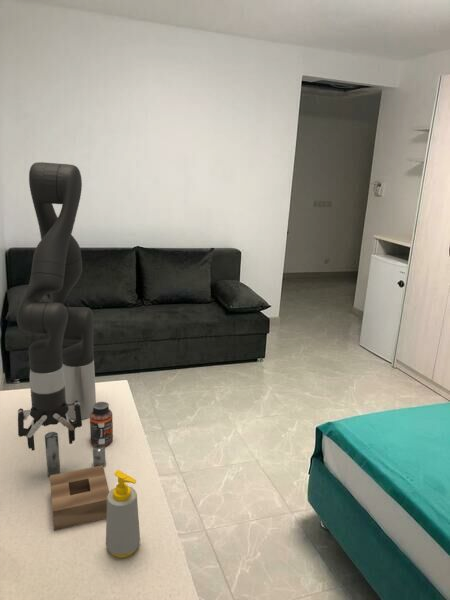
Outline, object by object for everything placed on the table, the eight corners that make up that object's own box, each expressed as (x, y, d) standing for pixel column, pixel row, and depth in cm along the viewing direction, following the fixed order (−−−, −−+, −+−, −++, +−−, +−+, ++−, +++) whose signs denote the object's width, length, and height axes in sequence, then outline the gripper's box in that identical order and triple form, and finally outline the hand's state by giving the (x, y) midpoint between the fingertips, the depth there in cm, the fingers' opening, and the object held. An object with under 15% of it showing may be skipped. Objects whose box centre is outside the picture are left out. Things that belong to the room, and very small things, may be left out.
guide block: (51, 493, 114) (49, 475, 112) (103, 482, 118) (102, 465, 116) (54, 530, 103) (52, 511, 102) (111, 517, 108) (110, 498, 106)
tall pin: (47, 471, 121) (44, 433, 118) (60, 468, 122) (57, 430, 119) (47, 478, 118) (44, 440, 115) (60, 476, 119) (58, 437, 116)
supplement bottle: (107, 449, 130) (106, 412, 127) (86, 445, 131) (85, 409, 128) (116, 436, 136) (115, 401, 132) (96, 433, 137) (95, 398, 133)
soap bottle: (124, 566, 95) (122, 491, 90) (98, 550, 99) (95, 476, 93) (147, 543, 101) (147, 471, 95) (122, 529, 104) (120, 458, 99)
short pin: (92, 462, 125) (92, 446, 123) (104, 460, 126) (104, 443, 124) (94, 469, 122) (93, 452, 121) (106, 467, 123) (105, 450, 122)
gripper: (78, 373, 118) (80, 432, 123) (14, 381, 113) (20, 442, 118) (81, 387, 112) (84, 448, 117) (13, 396, 106) (20, 460, 111)
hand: (52, 445), depth 117 cm, fingers open, 8 cm apart
